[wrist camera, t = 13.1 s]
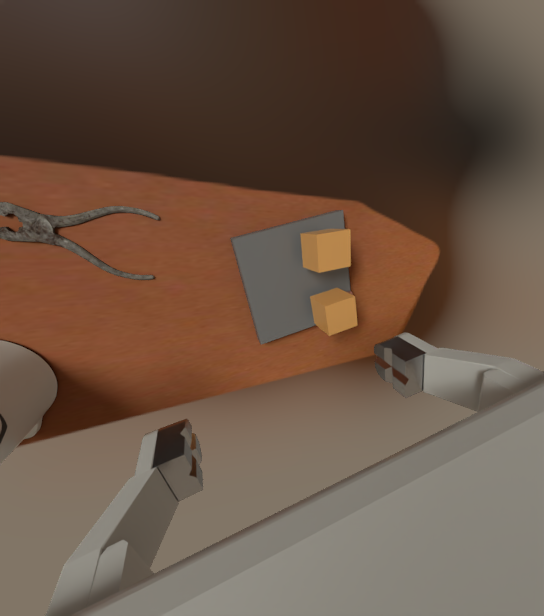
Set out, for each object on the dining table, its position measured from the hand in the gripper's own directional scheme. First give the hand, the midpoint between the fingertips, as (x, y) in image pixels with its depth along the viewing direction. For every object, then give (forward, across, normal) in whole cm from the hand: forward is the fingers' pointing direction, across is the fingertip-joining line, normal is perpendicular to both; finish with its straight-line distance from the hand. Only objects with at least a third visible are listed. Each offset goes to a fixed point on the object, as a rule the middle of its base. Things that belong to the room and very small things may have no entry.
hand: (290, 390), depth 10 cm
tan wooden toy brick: (+27, -15, +1) cm, 31 cm away
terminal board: (+31, -12, +6) cm, 34 cm away
